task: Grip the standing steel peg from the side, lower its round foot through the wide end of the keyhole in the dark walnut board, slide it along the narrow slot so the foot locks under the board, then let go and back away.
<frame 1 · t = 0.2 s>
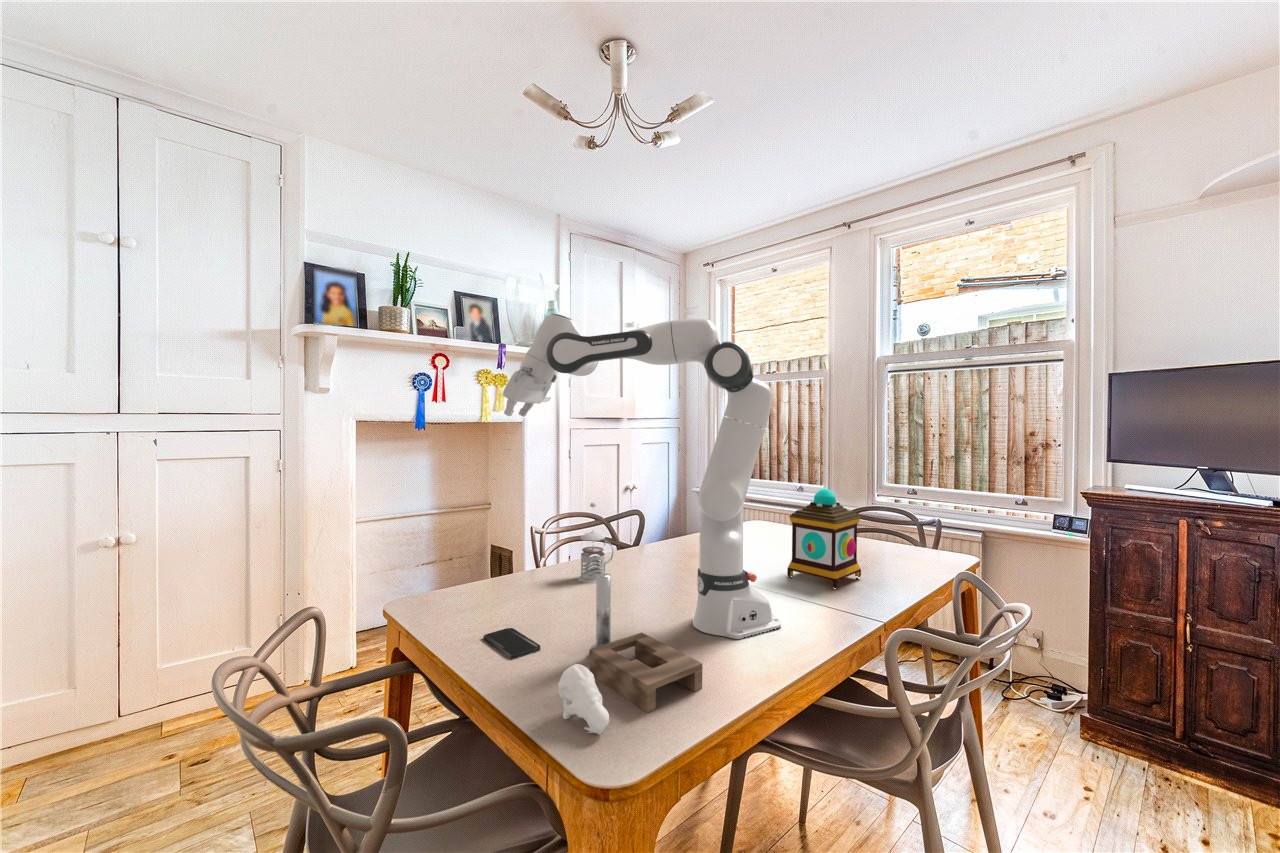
hand: (514, 415, 146), 54 cm above the table, tool tilted 25°, fingers open, 8 cm apart
keyhole board: (644, 680, 109), on the table
white lumpy figurine: (586, 723, 94), on the table
phone: (511, 646, 126), on the table
decorative lantern: (823, 579, 177), on the table
steel peg: (603, 655, 120), on the table
french press: (595, 579, 176), on the table
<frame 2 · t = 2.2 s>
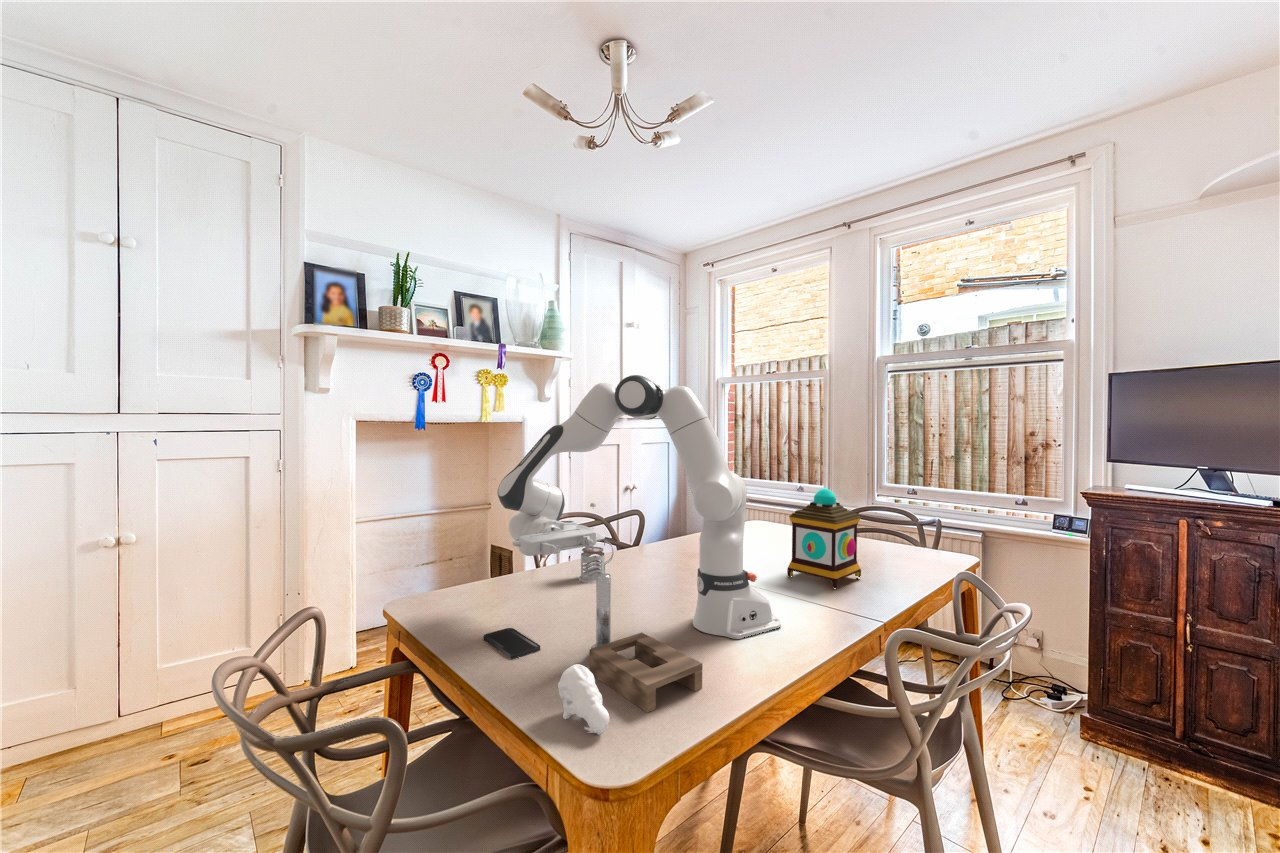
hand: (574, 547, 129), 22 cm above the table, tool horizontal, fingers open, 8 cm apart
nothing on the table moved.
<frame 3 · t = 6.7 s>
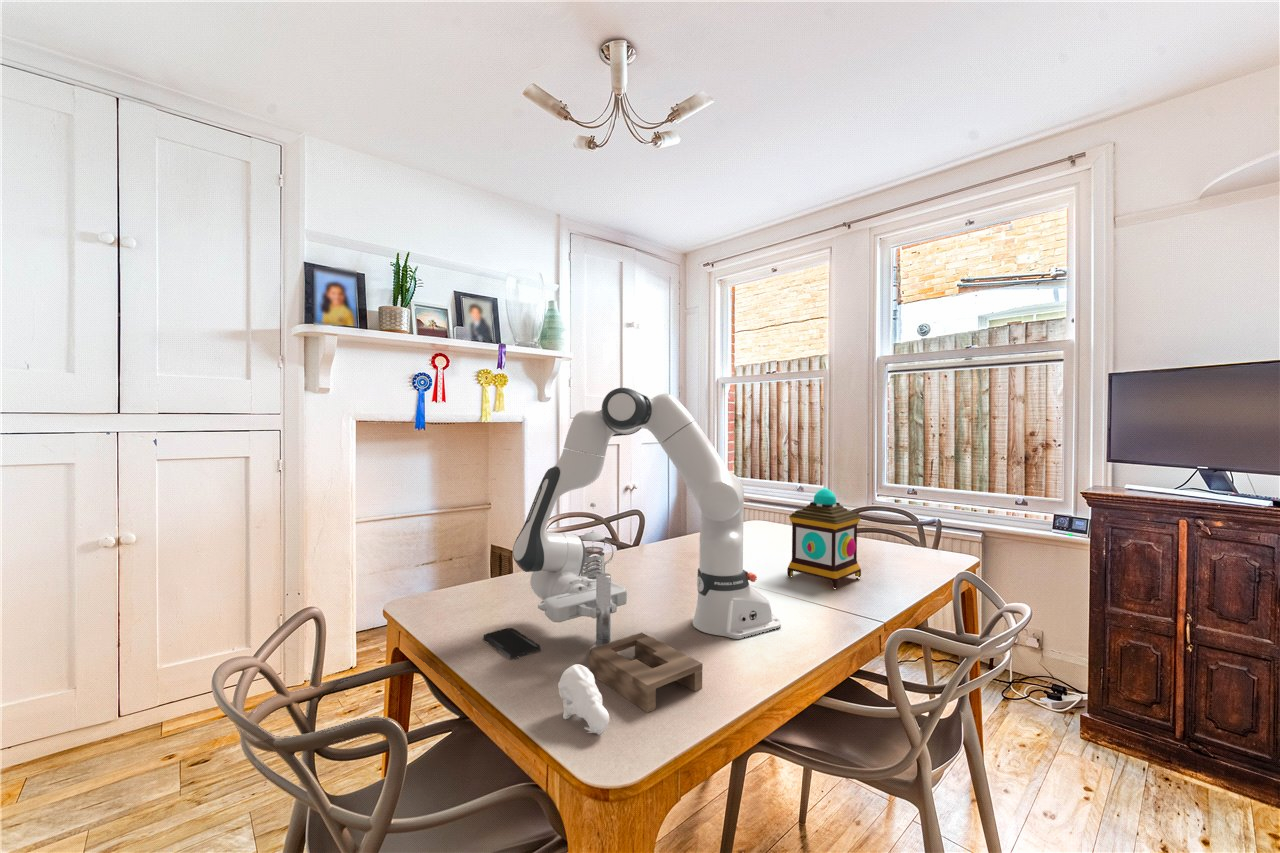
hand: (605, 611, 119), 10 cm above the table, tool horizontal, fingers closed on steel peg, 3 cm apart
steel peg: (603, 655, 120), on the table, touching gripper
everything else where it was.
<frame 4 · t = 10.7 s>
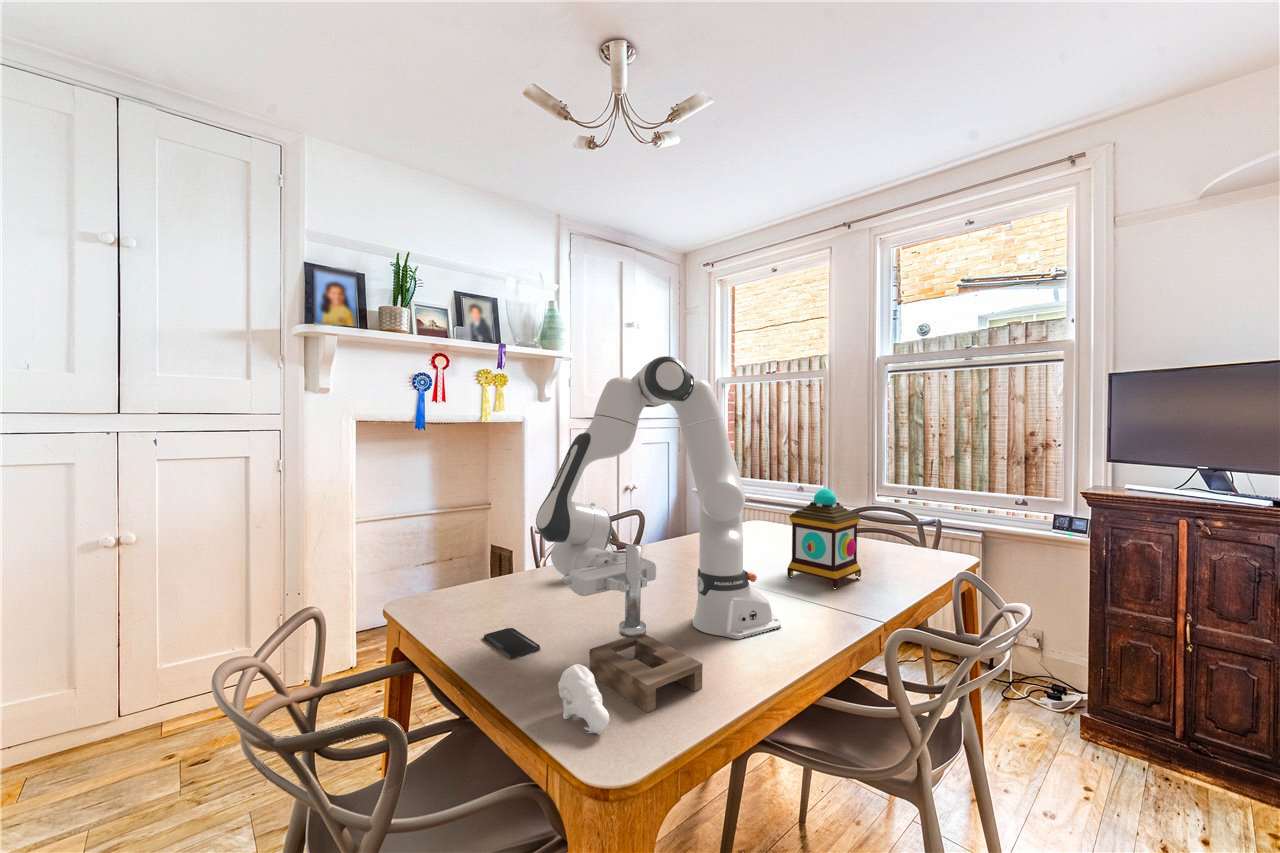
hand: (635, 585, 110), 19 cm above the table, tool horizontal, fingers closed on steel peg, 3 cm apart
steel peg: (632, 632, 111), point 9 cm above the table, touching gripper
everything else where it was.
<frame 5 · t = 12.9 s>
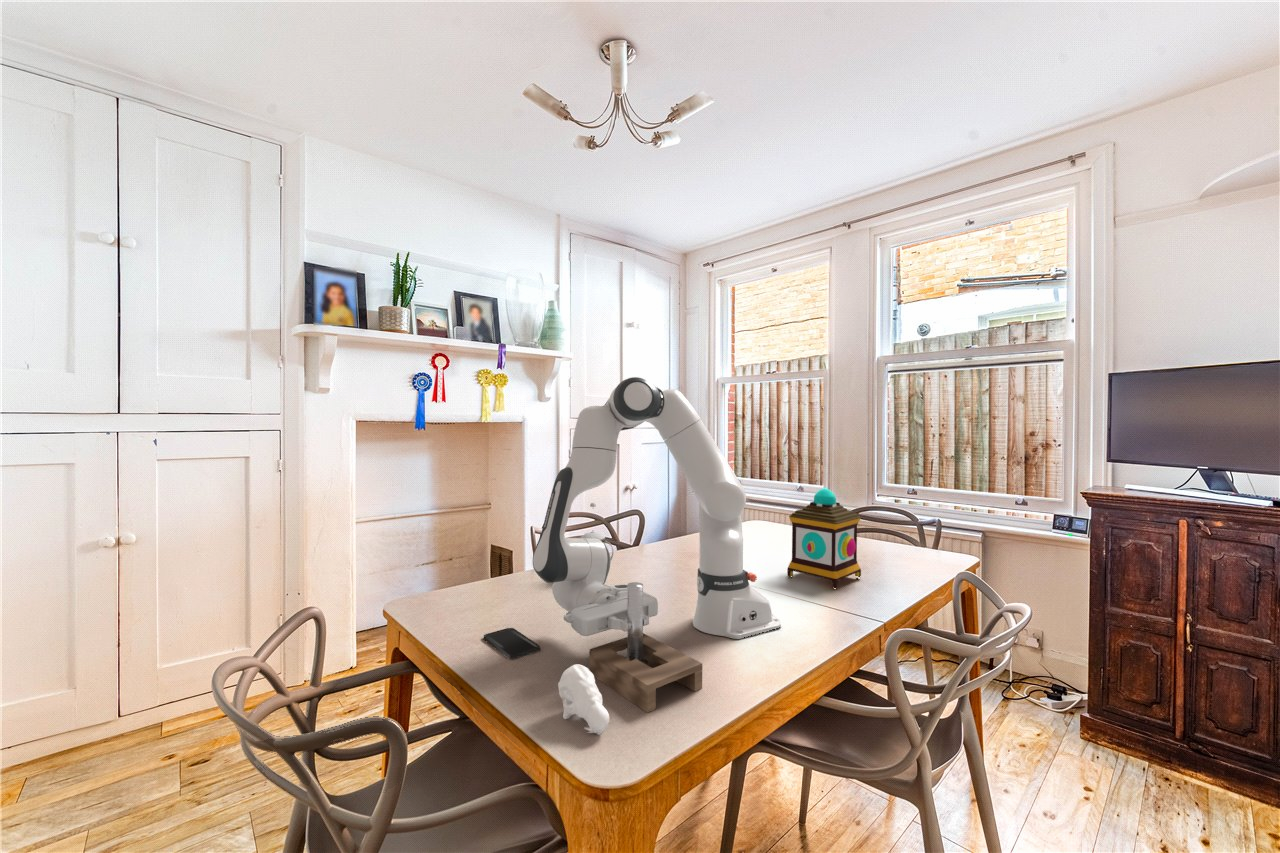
hand: (637, 624, 110), 11 cm above the table, tool horizontal, fingers closed on steel peg, 3 cm apart
steel peg: (634, 670, 111), point 1 cm above the table, touching gripper
everything else where it was.
when the fingers open (11 cm above the table, at t = 14.9 s): steel peg stays where it is, on the table.
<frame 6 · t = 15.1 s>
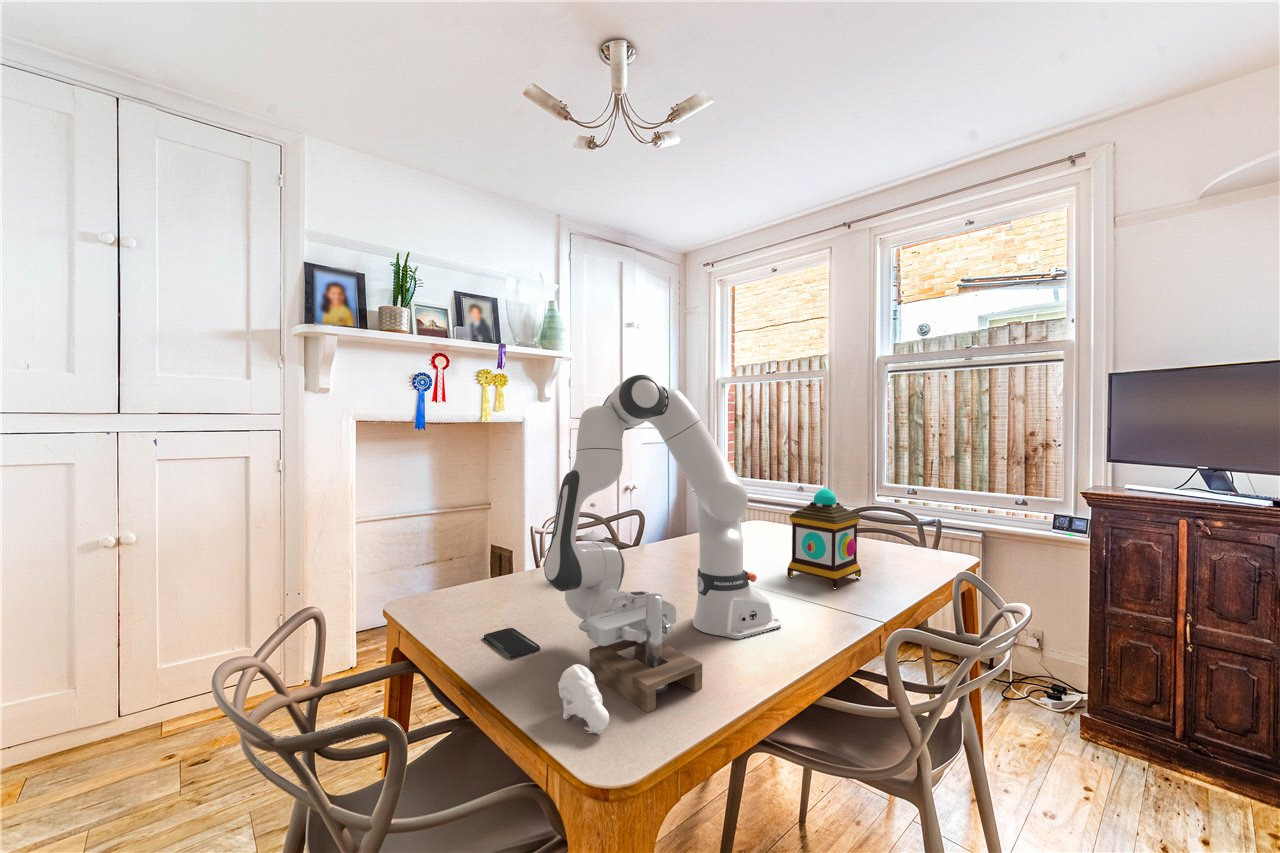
hand: (657, 633, 105), 11 cm above the table, tool horizontal, fingers open, 5 cm apart
steel peg: (653, 686, 106), on the table
everything else where it was.
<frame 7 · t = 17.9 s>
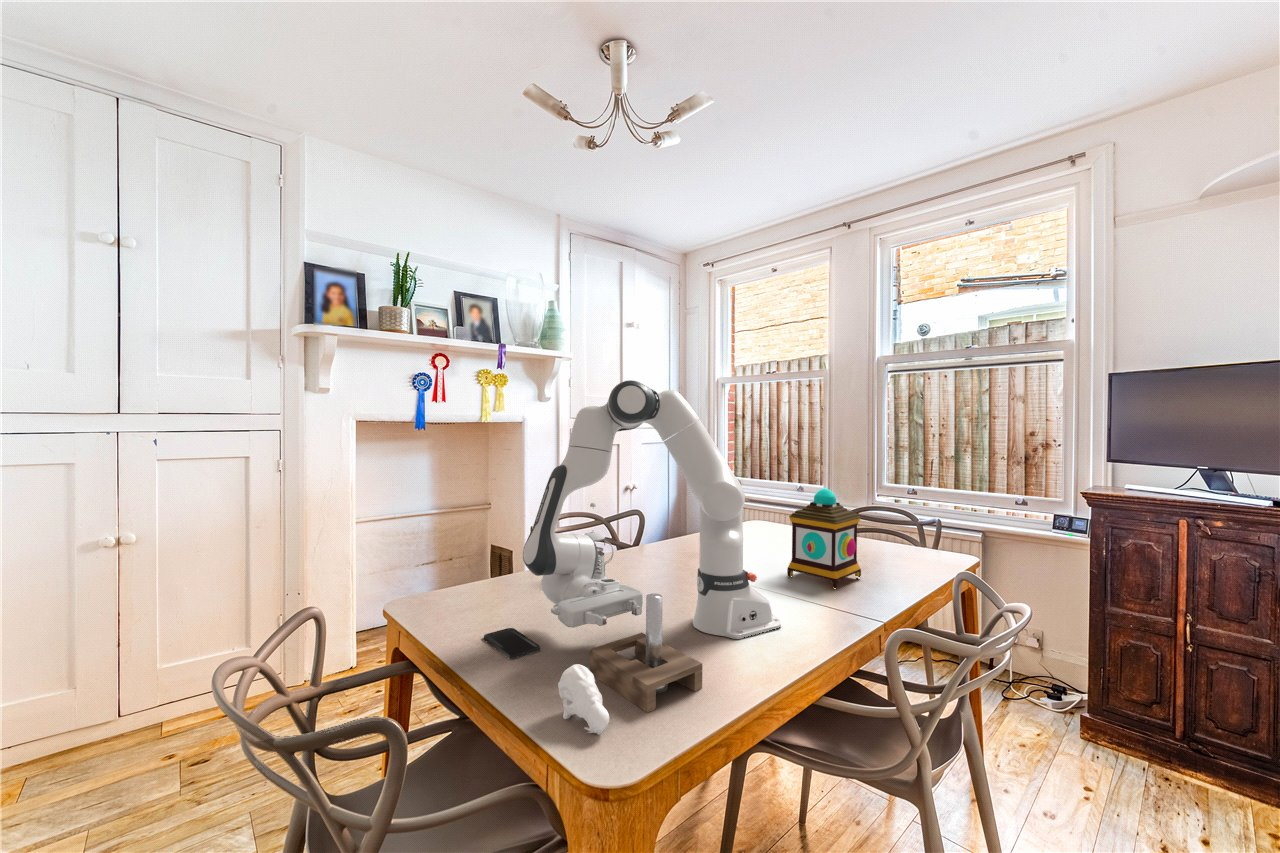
hand: (622, 616, 114), 11 cm above the table, tool horizontal, fingers open, 8 cm apart
nothing on the table moved.
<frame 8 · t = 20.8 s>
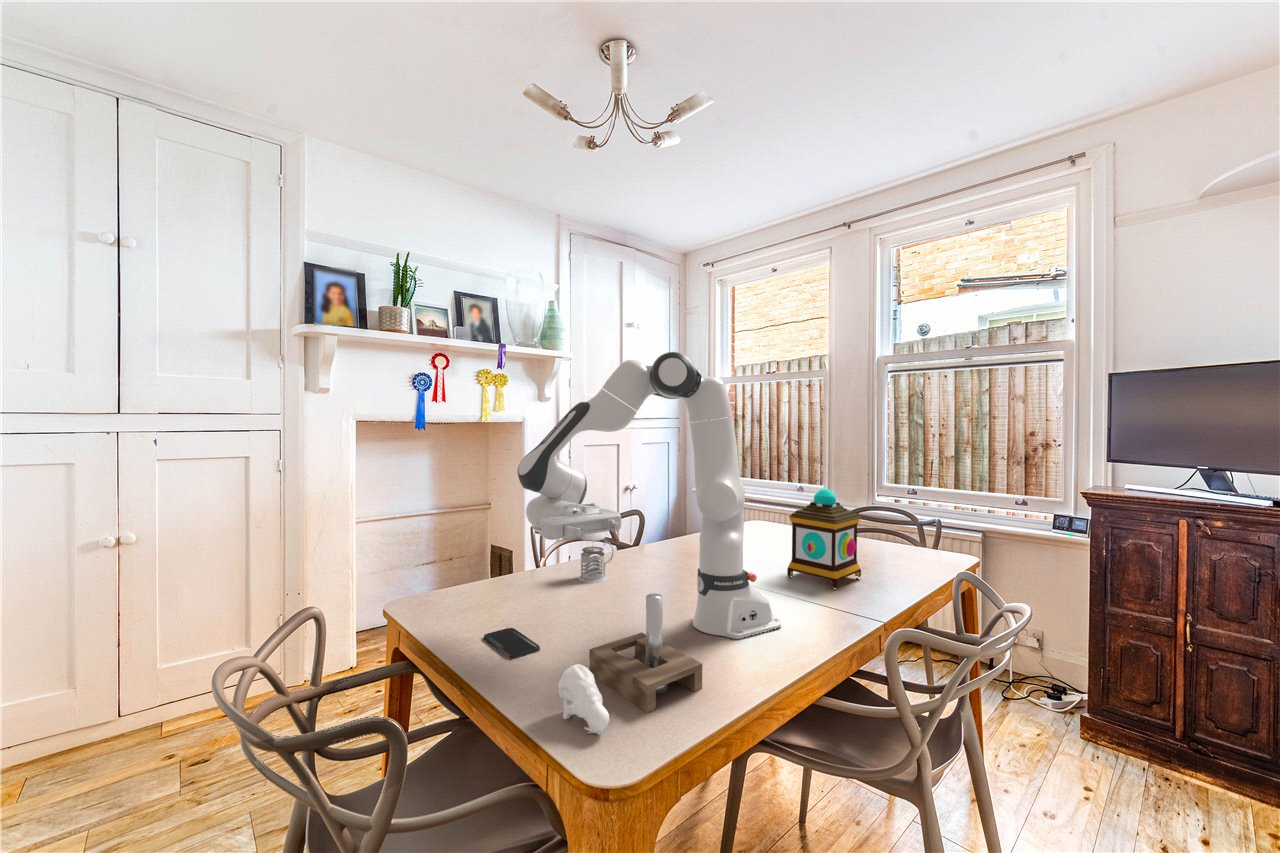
hand: (599, 530, 120), 28 cm above the table, tool horizontal, fingers open, 8 cm apart
nothing on the table moved.
at the end: steel peg 0.1 cm from the target spot on the keyhole board, point 0.0 cm above the keyhole board's base; steel peg tilted 0°; the gripper is holding nothing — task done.
